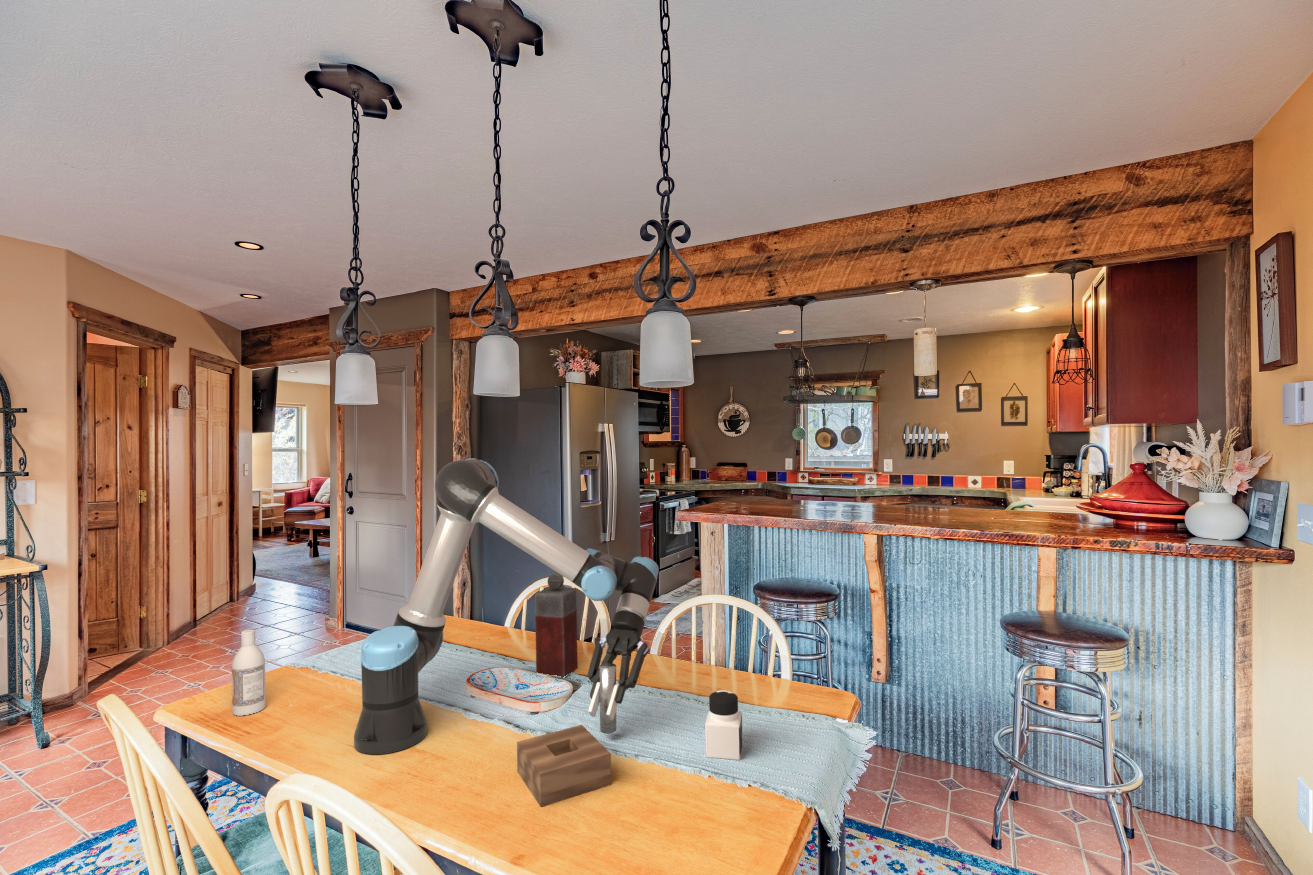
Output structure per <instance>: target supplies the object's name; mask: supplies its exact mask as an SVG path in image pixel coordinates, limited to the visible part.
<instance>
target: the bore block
mask: <svg viewBox="0 0 1313 875" xmlns="http://www.w3.org/2000/svg"><path fill="white" fill-rule="evenodd" d="M611 759H612V758H611V752H610V751H609V750H608V749H607V748H606V747H605V746H604V745H603V744H602V743H601V742H600V741H599V740H598V739H597V738H596V737H595V736H594V735H593V734H592V733H591V732H590V731H589V730H587V728H586V727H585V726H584V725H583V724H580V725H575V726H570V727H569V728H564V729H561V730H557V731H554V732H553V731H552V732H548V733H545V734H541V735H537V736H534V737H530V738H526V739H522V740H519V741H516V761H517V762H516V764H517V766H516V767H517V768H516V769H517V774H518V775H519V776H520V778H521V780H522V781H523V782H524V784H525V786H526V787H527V789H528V790H529V792H530V793H531V794H532V796H533V798H534V799H535V801H536V802H537V804H538V805H539V807H540V808H542V807H545V806H549V805H552V804H555V803H558V802H561V801H564V800H568V799H570V798H574V797H577V796H579V795H582V794H586V793H589V792H593V791H595V790H598V789H601V788H604V787H607V786H611V785H612V772H611V771H612V768H611V766H612V762H611Z"/></svg>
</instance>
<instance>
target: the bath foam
mask: <svg viewBox="0 0 1313 875" xmlns="http://www.w3.org/2000/svg"><path fill="white" fill-rule="evenodd" d="M240 634H241V636H240V637H241V639H240V641H241V642H240V643H241V644H240V645H241V646H240V648H239V649H238V650H237V652H236V654H235V656H234V657H233V659H232V662H231V663H232V664H231V696H232V697H231V699H232V700H231V702H232V704H231V705H232V706H231V708H232V715H234V716H236V715H237V716H236V717H244V716H243V715H246V716H250V715H249V714H251V715H254V714H253V713H255V714H257V713H259V711H260V712H261V711H263V710H264V709H265V707H266V702H267V701H266V660H265V656H264V653H263V651H262V650H261V649H260V647H258V646H257V644H256V630H255V629H254V628H253V629H245V630H242V631H241V633H240ZM256 712H257V713H256Z"/></svg>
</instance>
